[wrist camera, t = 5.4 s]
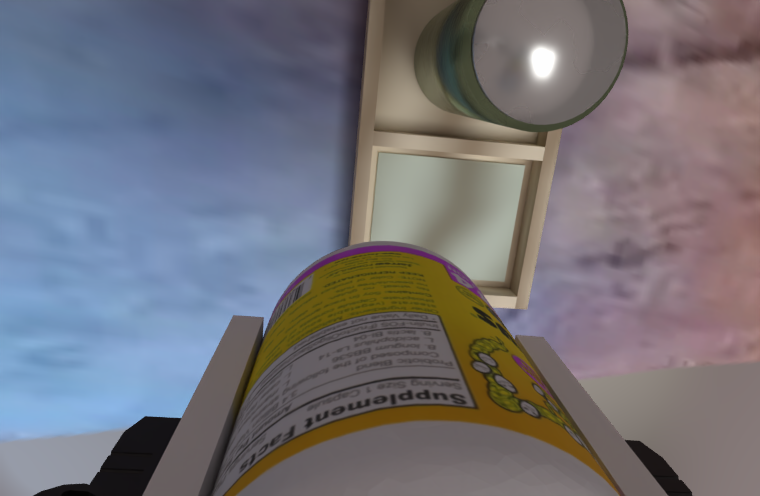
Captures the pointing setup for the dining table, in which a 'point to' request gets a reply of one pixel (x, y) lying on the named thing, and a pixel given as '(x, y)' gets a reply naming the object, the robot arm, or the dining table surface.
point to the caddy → (444, 167)
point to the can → (522, 60)
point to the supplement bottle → (398, 391)
